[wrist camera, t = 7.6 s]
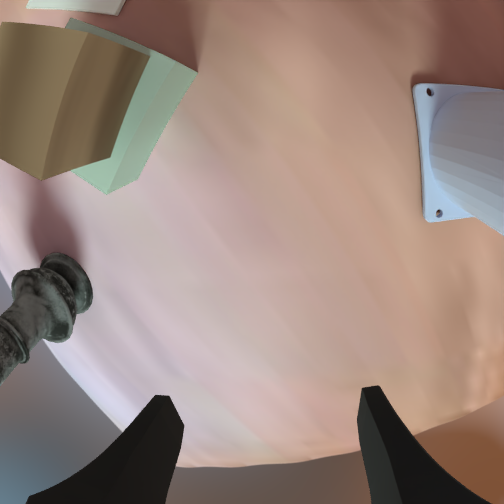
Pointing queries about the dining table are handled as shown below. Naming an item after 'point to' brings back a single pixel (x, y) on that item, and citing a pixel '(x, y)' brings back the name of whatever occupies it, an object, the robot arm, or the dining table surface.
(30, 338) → the dark green chess piece
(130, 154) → the base block
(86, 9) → the card
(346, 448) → the dining table surface
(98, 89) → the walnut block
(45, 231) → the dining table surface
